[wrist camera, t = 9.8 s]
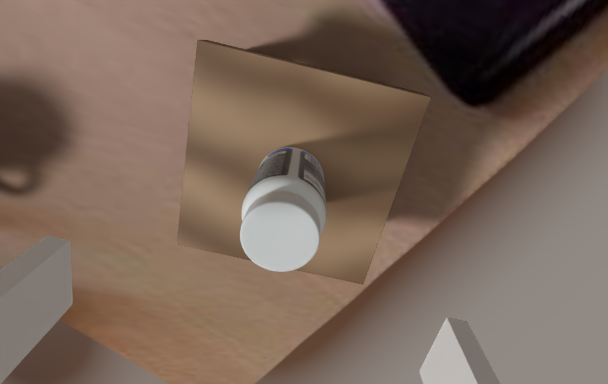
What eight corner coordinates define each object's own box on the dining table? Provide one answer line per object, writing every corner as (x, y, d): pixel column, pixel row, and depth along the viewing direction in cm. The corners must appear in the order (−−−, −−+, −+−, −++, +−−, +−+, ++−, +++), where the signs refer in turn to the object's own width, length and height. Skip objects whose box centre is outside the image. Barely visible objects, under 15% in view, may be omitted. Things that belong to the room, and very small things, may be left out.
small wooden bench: (228, 40, 29) (197, 39, 22) (403, 83, 30) (431, 97, 23) (206, 201, 35) (176, 244, 28) (354, 234, 36) (363, 284, 28)
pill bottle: (254, 203, 26) (227, 271, 18) (261, 140, 24) (234, 187, 16) (318, 212, 26) (318, 285, 18) (330, 151, 24) (335, 203, 17)
